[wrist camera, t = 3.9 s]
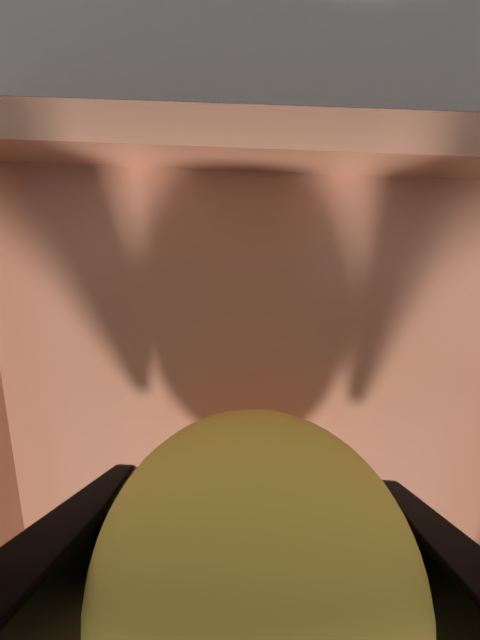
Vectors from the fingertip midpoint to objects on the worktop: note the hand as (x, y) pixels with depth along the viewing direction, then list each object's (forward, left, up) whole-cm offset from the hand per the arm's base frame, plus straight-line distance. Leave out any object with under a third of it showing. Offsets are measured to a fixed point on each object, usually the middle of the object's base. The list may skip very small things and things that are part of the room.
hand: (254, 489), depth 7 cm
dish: (0, 0, -2) cm, 2 cm away
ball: (0, 0, -1) cm, 1 cm away
